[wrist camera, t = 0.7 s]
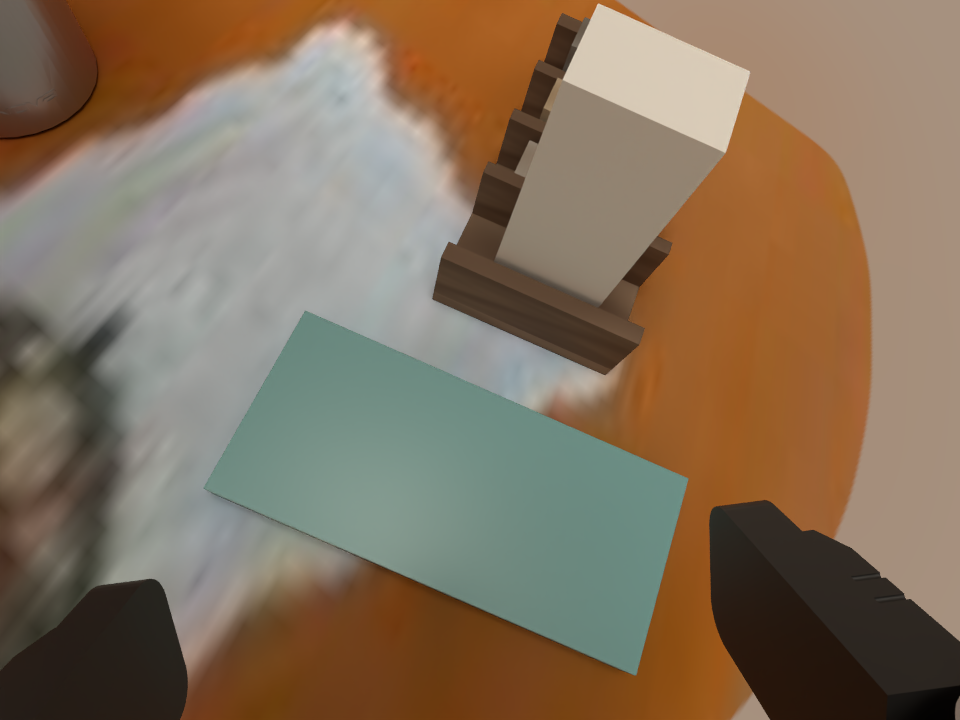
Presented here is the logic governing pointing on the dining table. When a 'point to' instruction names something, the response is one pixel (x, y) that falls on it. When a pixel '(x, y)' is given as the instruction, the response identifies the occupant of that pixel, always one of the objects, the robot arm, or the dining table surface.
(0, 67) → the robot arm
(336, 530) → the board
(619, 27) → the beige tall block
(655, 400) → the dining table surface
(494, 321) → the rack
